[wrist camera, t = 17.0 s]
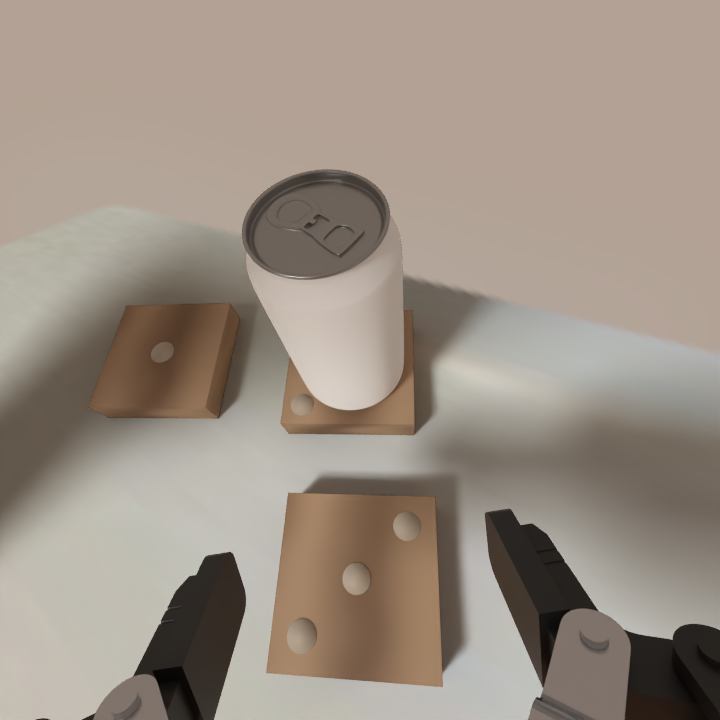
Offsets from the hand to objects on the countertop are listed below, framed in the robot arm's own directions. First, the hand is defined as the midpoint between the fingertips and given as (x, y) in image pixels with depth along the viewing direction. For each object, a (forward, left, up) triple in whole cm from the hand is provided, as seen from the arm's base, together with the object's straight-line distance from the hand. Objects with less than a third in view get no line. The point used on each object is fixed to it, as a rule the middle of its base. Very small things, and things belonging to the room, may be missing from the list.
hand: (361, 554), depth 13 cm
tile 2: (-2, +11, -11) cm, 16 cm away
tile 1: (-15, +12, -11) cm, 22 cm away
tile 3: (-1, -1, -11) cm, 11 cm away
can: (-2, +11, -9) cm, 14 cm away
